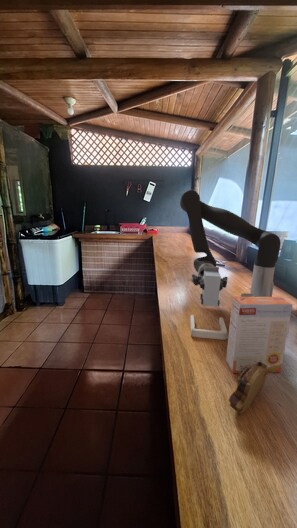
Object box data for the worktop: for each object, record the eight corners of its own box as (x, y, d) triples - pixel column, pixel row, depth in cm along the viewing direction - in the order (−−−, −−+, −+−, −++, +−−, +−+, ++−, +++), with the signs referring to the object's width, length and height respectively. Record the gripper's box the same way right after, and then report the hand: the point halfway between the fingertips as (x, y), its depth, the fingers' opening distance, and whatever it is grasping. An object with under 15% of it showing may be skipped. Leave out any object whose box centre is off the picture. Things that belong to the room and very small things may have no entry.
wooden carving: (248, 379, 63) (253, 346, 61) (266, 387, 61) (272, 353, 58) (222, 419, 51) (227, 380, 49) (243, 432, 48) (249, 391, 46)
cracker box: (269, 360, 72) (281, 295, 66) (281, 373, 66) (294, 304, 61) (224, 359, 71) (232, 295, 66) (231, 373, 65) (241, 303, 60)
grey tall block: (216, 298, 89) (220, 267, 86) (219, 306, 82) (223, 272, 79) (200, 297, 90) (202, 266, 87) (201, 305, 83) (204, 271, 80)
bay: (222, 323, 93) (222, 317, 92) (227, 340, 82) (227, 333, 81) (190, 320, 95) (190, 314, 94) (190, 336, 83) (191, 330, 83)
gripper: (190, 263, 98) (191, 275, 82) (226, 266, 96) (234, 278, 80) (189, 280, 100) (190, 296, 84) (224, 283, 98) (232, 299, 82)
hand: (211, 287), depth 82 cm, fingers closed on grey tall block, 5 cm apart
